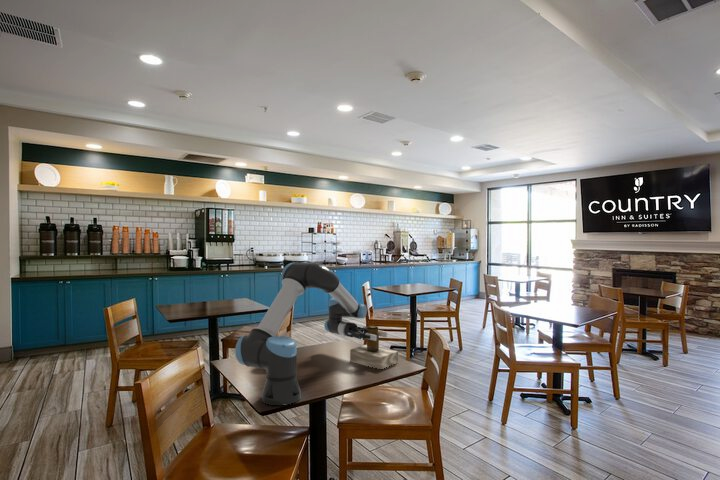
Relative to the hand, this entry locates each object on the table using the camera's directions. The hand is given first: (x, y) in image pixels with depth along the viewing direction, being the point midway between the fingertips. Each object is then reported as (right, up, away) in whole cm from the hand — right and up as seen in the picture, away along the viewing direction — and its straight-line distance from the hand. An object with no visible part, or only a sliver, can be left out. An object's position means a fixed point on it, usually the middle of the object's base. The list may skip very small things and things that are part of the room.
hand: (381, 336), depth 193 cm
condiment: (-4, -8, +3) cm, 9 cm away
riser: (-4, -14, +3) cm, 15 cm away
